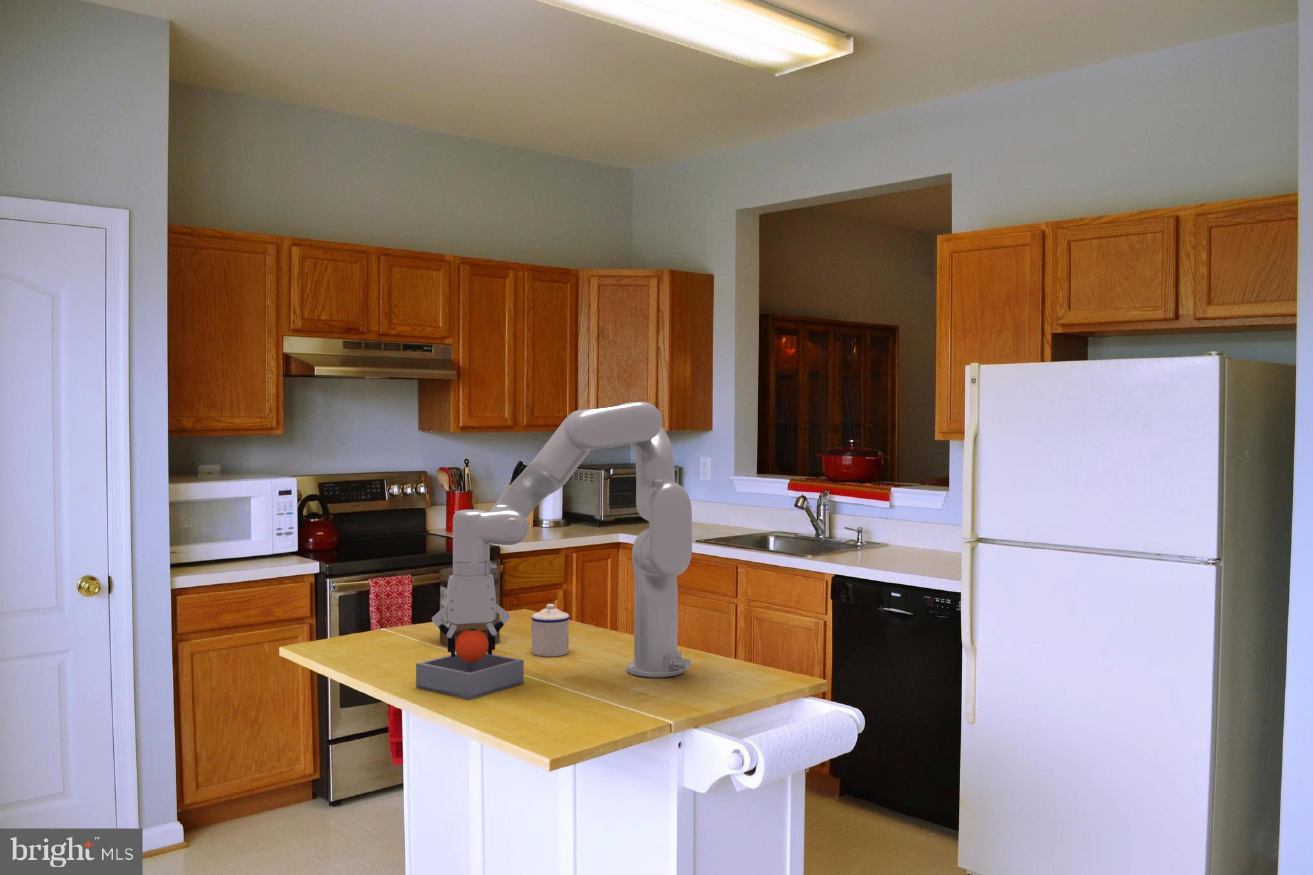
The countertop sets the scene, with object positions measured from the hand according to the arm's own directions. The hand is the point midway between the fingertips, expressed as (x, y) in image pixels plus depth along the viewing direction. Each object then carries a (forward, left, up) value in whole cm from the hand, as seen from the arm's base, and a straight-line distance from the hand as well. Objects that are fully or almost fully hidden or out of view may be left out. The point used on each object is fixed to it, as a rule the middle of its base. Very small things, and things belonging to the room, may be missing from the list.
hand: (471, 653), depth 208 cm
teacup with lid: (+8, -33, -7) cm, 34 cm away
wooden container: (+31, -30, -7) cm, 44 cm away
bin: (0, 0, -7) cm, 7 cm away
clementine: (0, 0, -2) cm, 2 cm away
